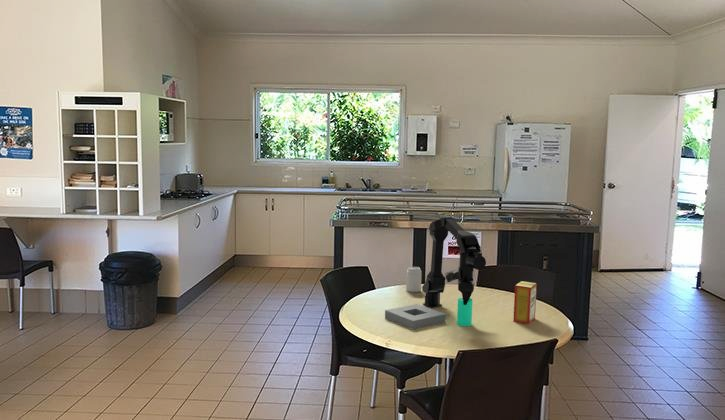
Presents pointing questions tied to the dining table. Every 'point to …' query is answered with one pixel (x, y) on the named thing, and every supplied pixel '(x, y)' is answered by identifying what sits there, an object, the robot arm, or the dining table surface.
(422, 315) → the socket block
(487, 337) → the dining table surface
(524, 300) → the baking soda box
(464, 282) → the robot arm
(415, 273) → the can
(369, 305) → the dining table surface
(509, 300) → the dining table surface
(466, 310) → the candle
